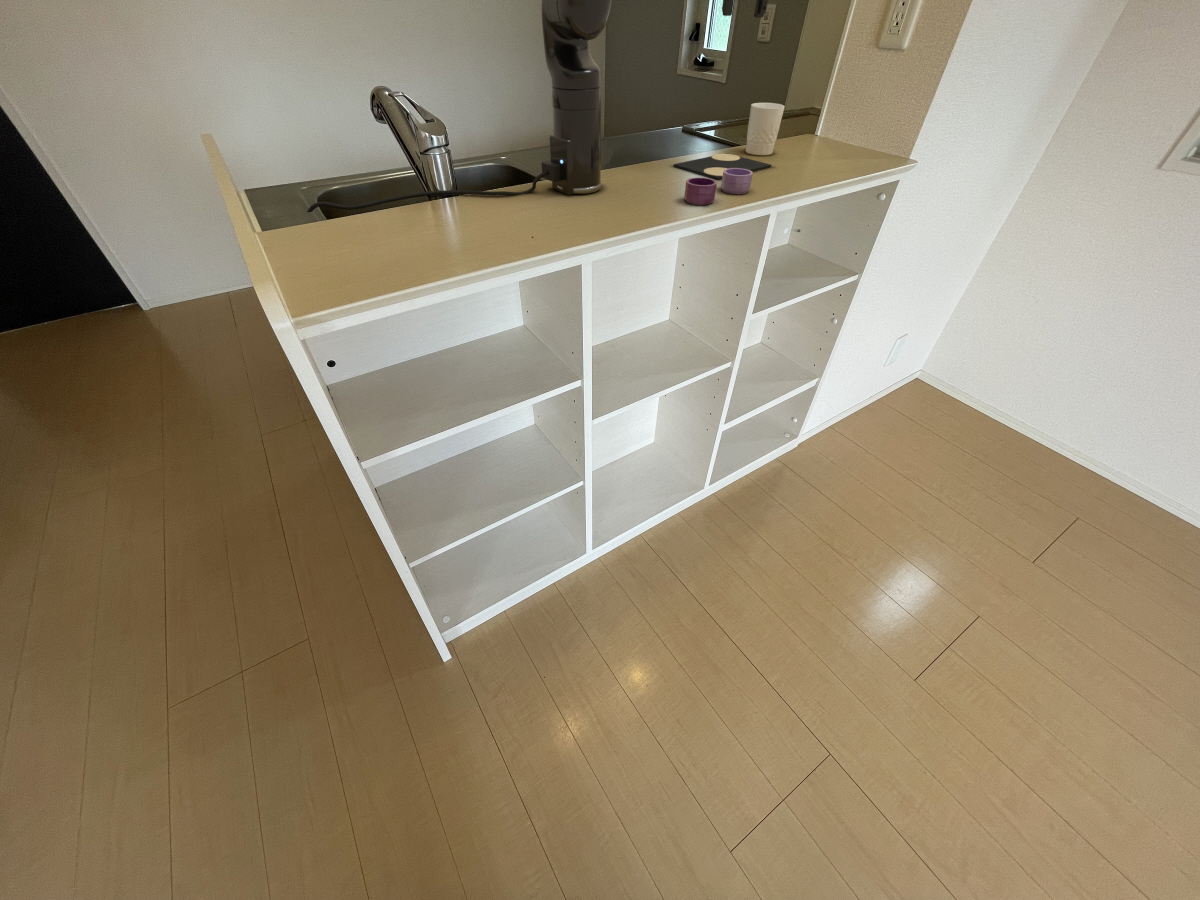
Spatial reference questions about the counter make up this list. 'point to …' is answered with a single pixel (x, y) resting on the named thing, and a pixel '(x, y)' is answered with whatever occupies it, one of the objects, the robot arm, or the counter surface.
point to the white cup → (763, 127)
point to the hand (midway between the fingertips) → (742, 16)
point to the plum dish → (700, 191)
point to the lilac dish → (736, 180)
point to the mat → (720, 165)
